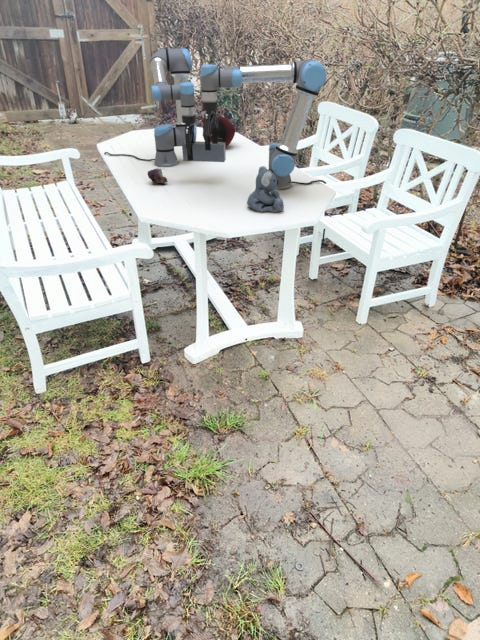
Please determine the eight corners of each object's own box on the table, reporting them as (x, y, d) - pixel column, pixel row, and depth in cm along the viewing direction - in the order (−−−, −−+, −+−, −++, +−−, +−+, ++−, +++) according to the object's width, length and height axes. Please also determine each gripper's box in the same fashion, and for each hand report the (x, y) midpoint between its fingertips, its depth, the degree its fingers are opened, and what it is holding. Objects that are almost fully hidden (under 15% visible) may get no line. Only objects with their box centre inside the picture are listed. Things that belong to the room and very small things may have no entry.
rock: (162, 181, 267) (146, 183, 263) (160, 166, 263) (144, 168, 259) (169, 183, 258) (152, 185, 254) (167, 168, 254) (150, 170, 250)
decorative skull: (200, 122, 333) (198, 119, 310) (231, 115, 333) (232, 111, 309) (207, 152, 340) (206, 151, 317) (237, 145, 339) (238, 143, 316)
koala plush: (284, 213, 221) (286, 172, 209) (248, 214, 219) (248, 174, 208) (279, 200, 235) (281, 162, 224) (245, 202, 234) (245, 163, 223)
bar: (183, 160, 255) (181, 143, 249) (185, 158, 259) (184, 141, 254) (224, 162, 252) (223, 144, 247) (225, 159, 256) (225, 142, 251)
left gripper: (191, 118, 235) (194, 163, 248) (198, 111, 250) (201, 154, 263) (177, 118, 236) (181, 163, 249) (185, 111, 250) (188, 154, 264)
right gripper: (210, 105, 207) (212, 153, 219) (223, 97, 227) (224, 141, 239) (194, 105, 208) (197, 152, 221) (209, 97, 229) (211, 140, 241)
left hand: (191, 158), depth 256 cm, fingers closed on bar, 5 cm apart
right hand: (211, 146), depth 230 cm, fingers open, 13 cm apart
